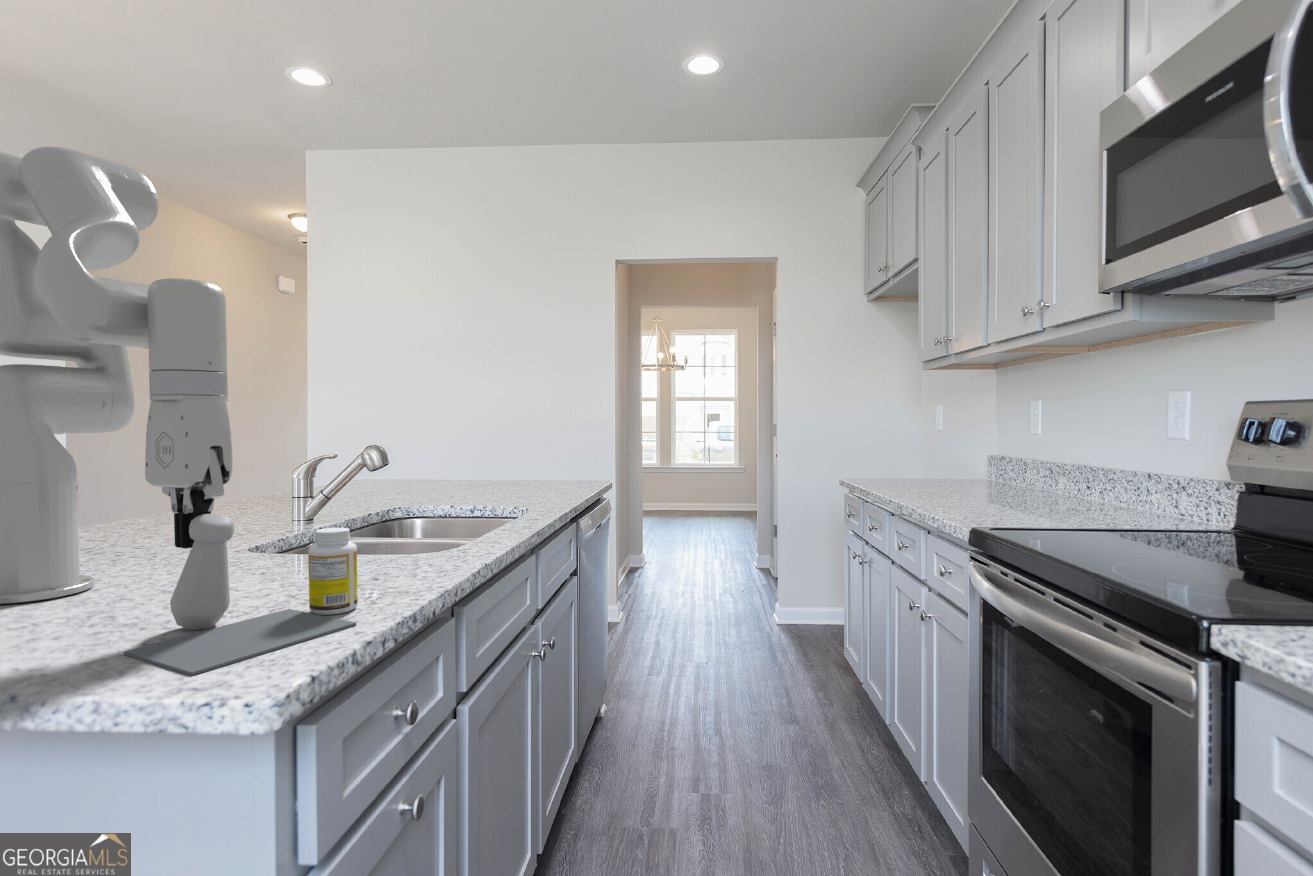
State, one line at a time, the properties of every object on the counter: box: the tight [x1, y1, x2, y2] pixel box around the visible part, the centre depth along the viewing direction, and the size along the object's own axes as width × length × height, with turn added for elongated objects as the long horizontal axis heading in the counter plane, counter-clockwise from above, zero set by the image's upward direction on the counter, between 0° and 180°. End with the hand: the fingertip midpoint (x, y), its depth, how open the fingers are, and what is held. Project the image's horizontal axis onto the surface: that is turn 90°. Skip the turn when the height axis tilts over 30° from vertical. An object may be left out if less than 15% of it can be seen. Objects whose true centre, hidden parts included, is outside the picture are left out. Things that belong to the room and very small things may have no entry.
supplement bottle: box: [307, 527, 359, 616], centre depth 87 cm, size 6×6×10 cm
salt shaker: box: [169, 513, 235, 631], centre depth 79 cm, size 6×6×13 cm
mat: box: [123, 608, 357, 676], centre depth 76 cm, size 12×18×1 cm
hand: (193, 545), depth 80 cm, fingers closed
